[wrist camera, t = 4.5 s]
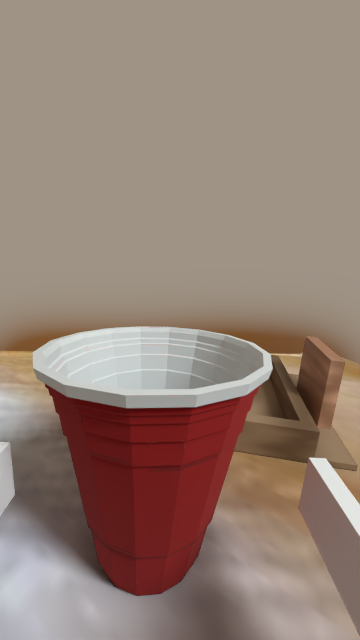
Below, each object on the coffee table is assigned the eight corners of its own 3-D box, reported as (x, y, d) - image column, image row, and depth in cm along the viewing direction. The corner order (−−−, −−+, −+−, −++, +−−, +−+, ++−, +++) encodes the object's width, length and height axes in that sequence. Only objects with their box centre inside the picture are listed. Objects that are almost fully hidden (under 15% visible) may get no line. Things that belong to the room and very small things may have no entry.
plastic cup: (200, 453, 22) (213, 313, 20) (285, 617, 13) (337, 380, 10) (58, 478, 19) (50, 314, 16) (21, 727, 9) (-16, 416, 6)
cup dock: (112, 430, 25) (113, 353, 23) (158, 360, 41) (160, 313, 40) (356, 470, 22) (378, 386, 20) (299, 378, 38) (308, 327, 37)
